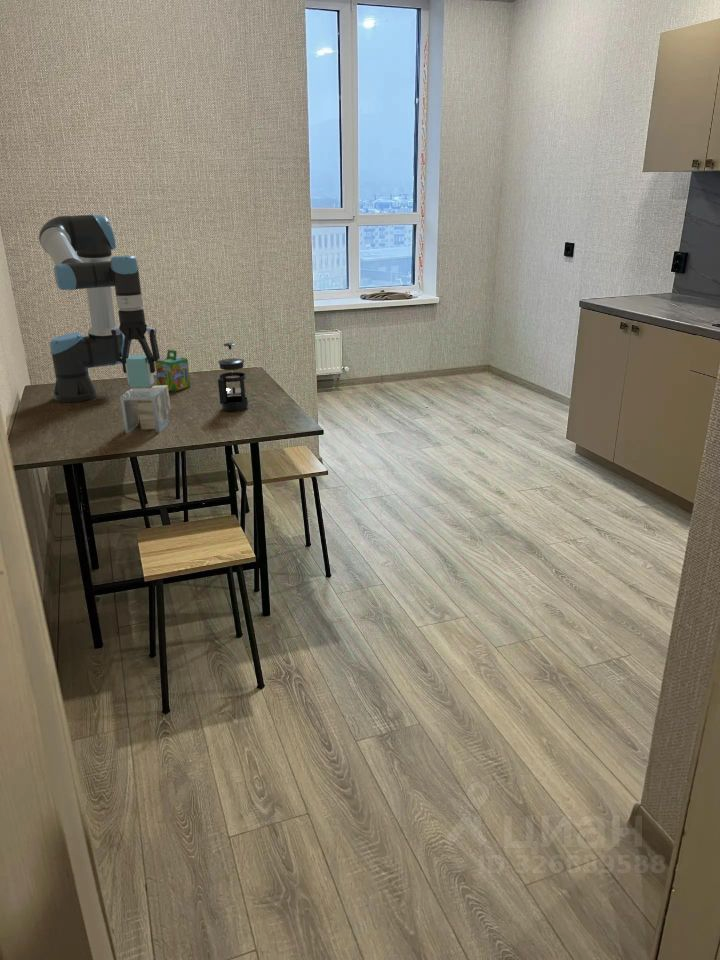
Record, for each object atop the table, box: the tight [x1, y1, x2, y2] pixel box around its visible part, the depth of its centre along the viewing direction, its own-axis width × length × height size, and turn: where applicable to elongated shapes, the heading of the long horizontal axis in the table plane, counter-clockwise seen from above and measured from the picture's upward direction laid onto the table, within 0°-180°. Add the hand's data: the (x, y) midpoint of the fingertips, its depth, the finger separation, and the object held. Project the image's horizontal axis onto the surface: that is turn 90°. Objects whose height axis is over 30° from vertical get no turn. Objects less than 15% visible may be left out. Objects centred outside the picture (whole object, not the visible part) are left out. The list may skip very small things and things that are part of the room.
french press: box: [217, 342, 250, 413], centre depth 243 cm, size 12×9×23 cm
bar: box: [136, 385, 172, 430], centre depth 236 cm, size 22×5×9 cm, turn 2°
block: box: [126, 354, 156, 388], centre depth 222 cm, size 6×6×9 cm
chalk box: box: [154, 349, 191, 393], centre depth 273 cm, size 9×9×15 cm
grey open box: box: [119, 387, 169, 434], centre depth 226 cm, size 10×11×12 cm
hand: (141, 382), depth 223 cm, fingers closed on block, 6 cm apart
